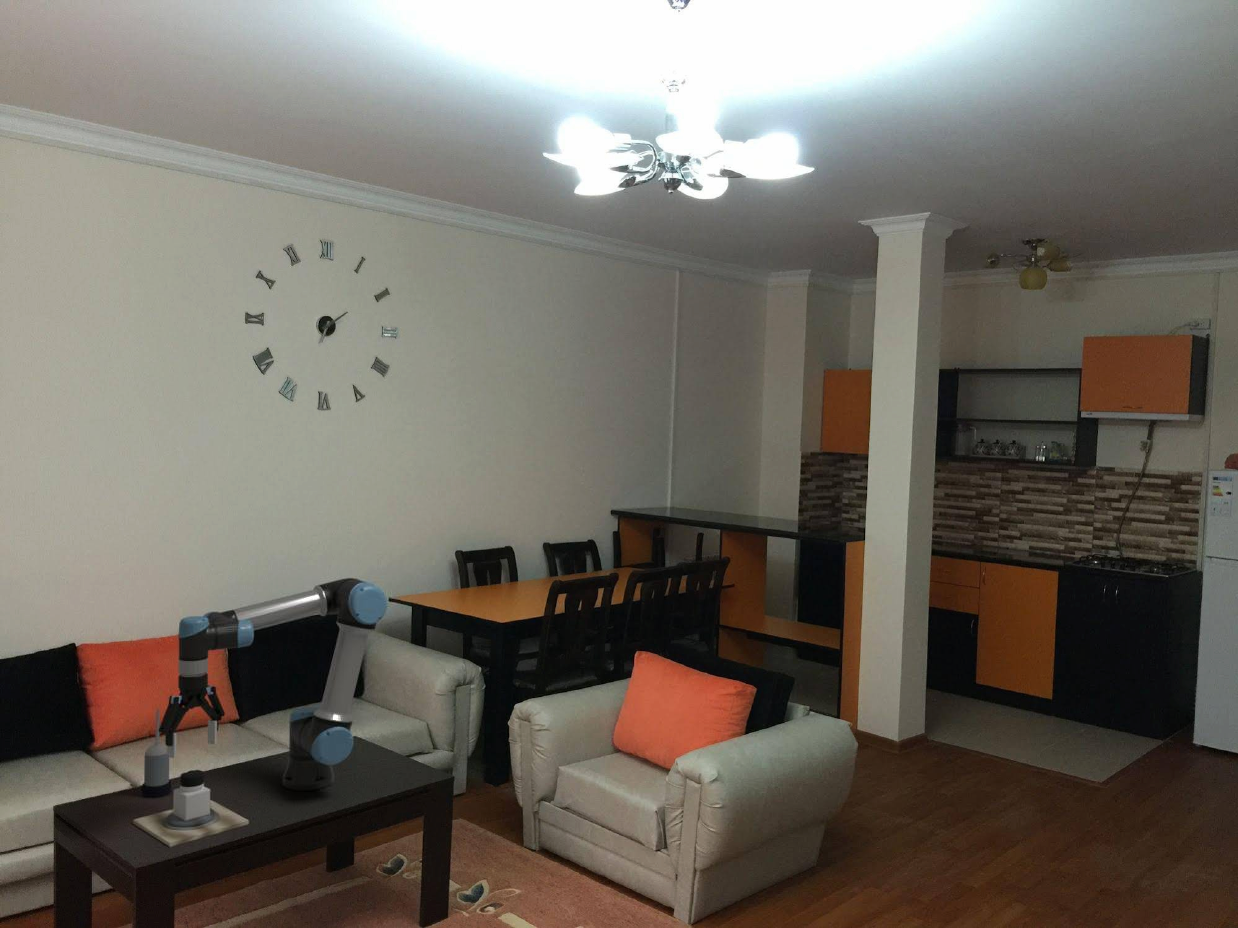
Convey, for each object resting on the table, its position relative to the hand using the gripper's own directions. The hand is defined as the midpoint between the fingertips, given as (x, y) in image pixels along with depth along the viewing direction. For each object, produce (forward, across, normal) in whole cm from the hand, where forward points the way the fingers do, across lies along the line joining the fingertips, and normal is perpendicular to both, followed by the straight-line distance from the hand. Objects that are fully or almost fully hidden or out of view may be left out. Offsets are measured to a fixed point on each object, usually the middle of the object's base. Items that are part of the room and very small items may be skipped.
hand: (192, 750), depth 283 cm
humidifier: (+21, -11, -27) cm, 36 cm away
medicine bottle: (+18, 0, 0) cm, 18 cm away
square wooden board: (+20, 0, 0) cm, 21 cm away
